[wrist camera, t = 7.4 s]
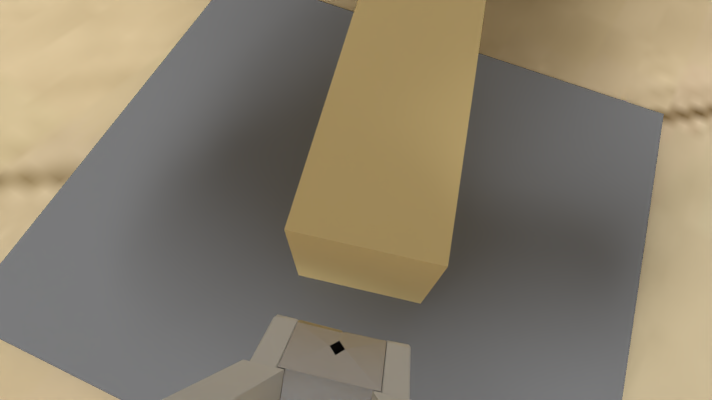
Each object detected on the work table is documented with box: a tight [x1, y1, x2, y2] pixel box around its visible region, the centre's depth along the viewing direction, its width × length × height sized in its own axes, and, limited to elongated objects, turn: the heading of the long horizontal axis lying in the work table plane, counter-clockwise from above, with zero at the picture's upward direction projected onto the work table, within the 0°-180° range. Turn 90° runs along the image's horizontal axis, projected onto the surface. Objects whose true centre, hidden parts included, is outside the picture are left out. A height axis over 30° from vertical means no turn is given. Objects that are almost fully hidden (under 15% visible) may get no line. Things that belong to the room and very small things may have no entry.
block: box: [284, 0, 486, 304], centre depth 18 cm, size 5×5×12 cm
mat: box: [0, 0, 664, 400], centre depth 20 cm, size 24×21×1 cm
